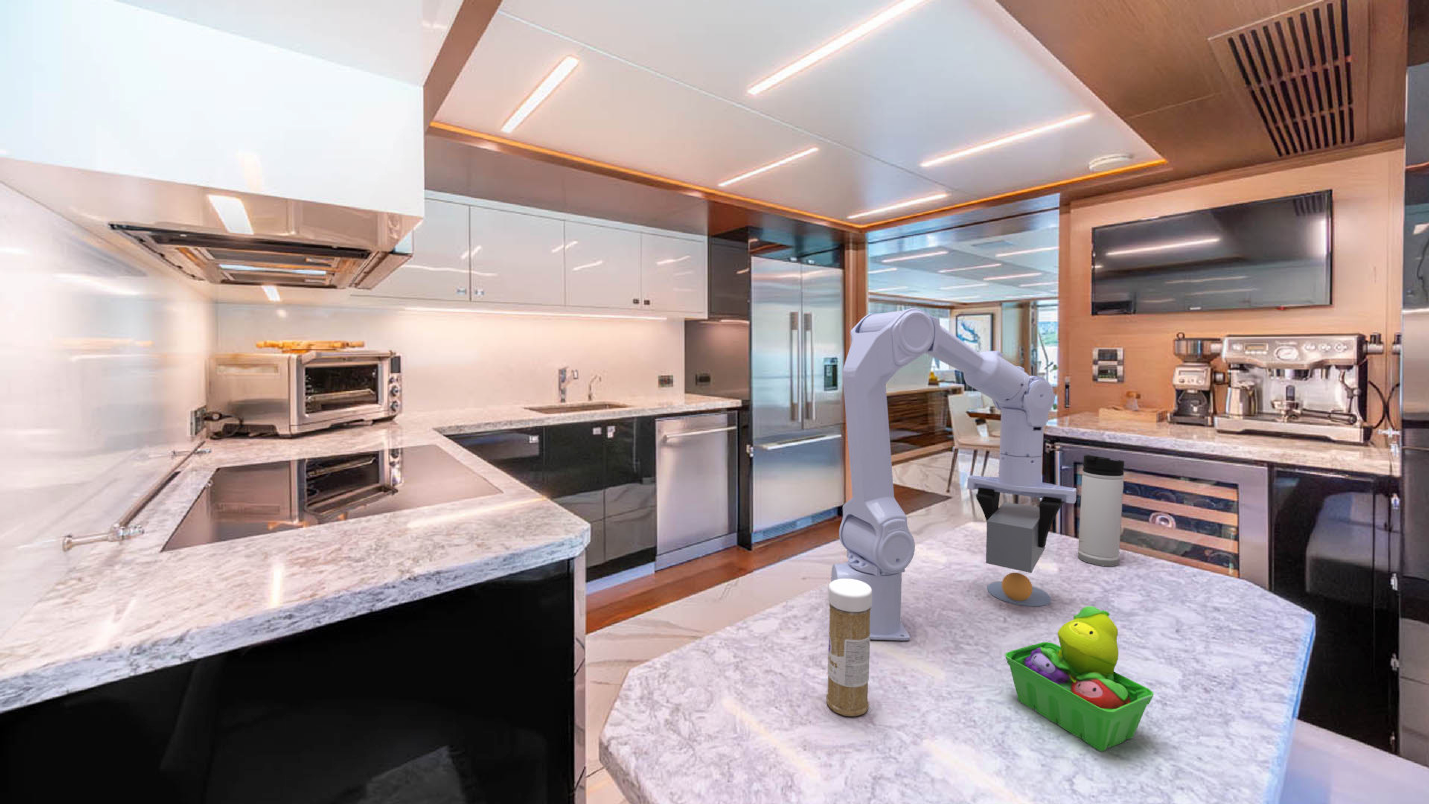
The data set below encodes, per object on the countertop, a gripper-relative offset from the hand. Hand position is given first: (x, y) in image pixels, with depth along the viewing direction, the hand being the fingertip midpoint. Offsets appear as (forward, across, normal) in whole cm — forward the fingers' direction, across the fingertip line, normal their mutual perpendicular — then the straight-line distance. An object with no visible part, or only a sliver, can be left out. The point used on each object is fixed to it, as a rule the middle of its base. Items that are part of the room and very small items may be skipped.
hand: (1017, 541), depth 85 cm
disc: (+10, 0, -3) cm, 10 cm away
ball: (+8, 0, -1) cm, 8 cm away
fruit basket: (+10, -11, +27) cm, 31 cm away
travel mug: (+10, -8, -29) cm, 32 cm away
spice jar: (+10, +8, +41) cm, 43 cm away
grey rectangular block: (+2, 0, 0) cm, 2 cm away
